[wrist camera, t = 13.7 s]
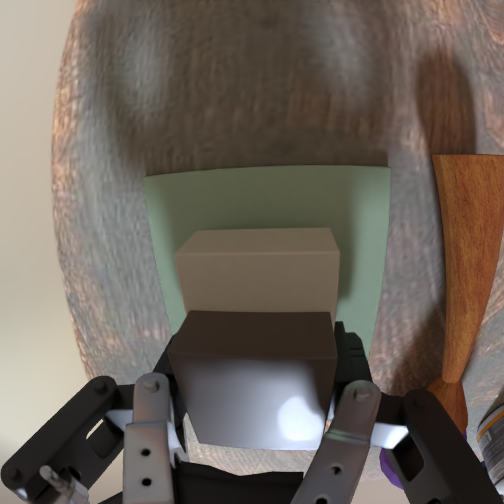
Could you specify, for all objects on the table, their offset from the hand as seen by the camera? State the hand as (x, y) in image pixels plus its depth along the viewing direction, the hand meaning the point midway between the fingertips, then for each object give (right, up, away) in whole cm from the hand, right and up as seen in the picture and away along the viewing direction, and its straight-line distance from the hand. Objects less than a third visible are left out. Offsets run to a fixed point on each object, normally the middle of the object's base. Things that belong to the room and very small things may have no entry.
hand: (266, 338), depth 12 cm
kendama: (+9, -1, +1) cm, 10 cm away
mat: (0, +1, +1) cm, 1 cm away
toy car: (0, 0, +1) cm, 1 cm away
